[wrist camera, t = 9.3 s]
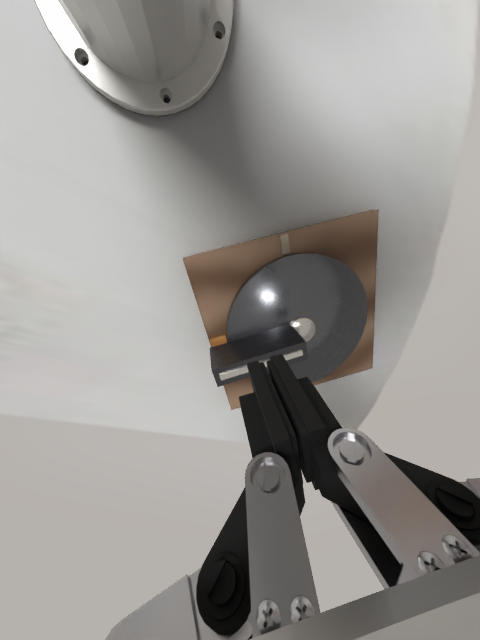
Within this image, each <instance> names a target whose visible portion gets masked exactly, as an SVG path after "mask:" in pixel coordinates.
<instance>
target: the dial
mask: <svg viewBox="0 0 480 640" xmlns="http://www.w3.org/2000/svg"><path fill="white" fill-rule="evenodd" d="M367 312H368V305H367V297H366V293H365V290H364V287H363V285H362V283H361V281H360V279H359V278H358V276H357V275H356V274H355V273H354V271H353V270H352V269H350V268H349V267H348V266H347V265H346V264H344V263H342V262H341V261H339V260H337V259H334V258H332V257H329V256H325V255H321V254H317V253H308V252H303V253H293V254H288V255H284V256H282V257H279V258H276V259H274V260H272V261H270V262H268V263H266V264H265V265H263V266H262V267H260V268H259V269H257V270H256V271H255V272H254V273H253V274H251V275H250V276H249V277H248V278H247V280H246V281H245V282H244V283H243V284H242V286H241V287H240V288H239V290H238V291H237V293H236V295H235V297H234V299H233V301H232V303H231V306H230V309H229V313H228V317H227V328H226V329H227V338H228V342H227V343H224V344H221V345H217V346H214V347H211V348H210V356H211V368H212V372H213V375H214V378H215V380H216V383H217V386H218V387H219V386H222V385H225V384H229V383H232V382H235V381H238V380H242V379H245V378H248V377H250V376H249V372H248V368H247V363H250V362H253V361H257V360H258V361H259V363H261V362H264V365H265V367H266V369H267V371H268V367H267V361H268V360H270V357H271V356H274V355H278V354H282V355H283V356H284V358H285V360H286V361H287V363H288V365H289V366H290V368H291V370H292V371H293V373H294V375H295V376H296V378H297V379H300V378H303V377H308V378H309V379H310V381H311V382H315V381H317V380H319V379H321V378H323V377H325V376H327V375H328V374H330V373H331V372H333V371H334V370H335V369H337V368H338V367H339V366H340V365H341V364H342V363H343V362H344V361H345V360H346V359H347V358H348V357H349V356H350V355H351V353H352V352H353V351H354V349H355V348H356V346H357V344H358V343H359V341H360V339H361V336H362V334H363V332H364V328H365V325H366V320H367ZM268 374H269V372H268Z"/></svg>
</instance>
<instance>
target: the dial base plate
mask: <svg viewBox="0 0 480 640" xmlns="http://www.w3.org/2000/svg"><path fill="white" fill-rule="evenodd" d="M377 233H378V210H370V211H366V212H362V213H358V214H354V215H350V216H346V217H342V218H338V219H334V220H330V221H326V222H322V223H318V224H314V225H310V226H306V227H303V228H299V229H295V230H291V231H287V232H283V233H279V234H275V235H271V236H267V237H263V238H259V239H255V240H251V241H247V242H243V243H239V244H235V245H231V246H227V247H223V248H220V249H216V250H212V251H208V252H204V253H200V254H196V255H192V256H188V257H184V258H183V261H184V264H185V267H186V270H187V273H188V276H189V280H190V283H191V286H192V289H193V292H194V295H195V298H196V301H197V304H198V307H199V311H200V314H201V317H202V320H203V323H204V326H205V329H206V332H207V335H208V338H209V342H210V345H211V347H214V346H217V345H221V344H224V343H227V342H228V338H227V329H226V328H227V317H228V313H229V309H230V306H231V303H232V301H233V299H234V297H235V295H236V293H237V291H238V290H239V288H240V287H241V286H242V284H243V283H244V282H245V281H246V280H247V278H248V277H249V276H250V275H251V274H253V273H254V272H255V271H256V270H257V269H259V268H260V267H262V266H263V265H265V264H266V263H268V262H270V261H272V260H274V259H276V258H279V257H282V256H284V255H288V254H293V253H303V252H308V253H317V254H321V255H325V256H329V257H332V258H334V259H337V260H339V261H341V262H342V263H344V264H346V265H347V266H348V267H349V268H350V269H352V270H353V271H354V273H355V274H356V275H357V276H358V278H359V279H360V281H361V283H362V285H363V287H364V290H365V293H366V297H367V305H368V312H367V320H366V325H365V328H364V332H363V334H362V336H361V339H360V341H359V343H358V344H357V346H356V348H355V349H354V351H353V352H352V353H351V355H350V356H349V357H348V358H347V359H346V360H345V361H344V362H343V363H342V364H341V365H340V366H339V367H338V368H337V369H335V370H334V371H333V372H331V373H330V374H328V375H327V376H325V377H323V378H321V379H319V380H317V381H315V382H312V384H313V385H317V384H320V383H323V382H327V381H330V380H333V379H337V378H340V377H344V376H347V375H350V374H354V373H357V372H360V371H364V370H367V369H370V368H372V365H373V338H374V312H375V286H376V260H377ZM224 388H225V391H226V394H227V397H228V400H229V403H230V407H231V410H233V409H236V408H239V407H241V406H240V401H239V396H242V395H246V394H249V393H253V388H252V384H251V380H250V377H248V378H245V379H242V380H238V381H235V382H232V383H229V384H225V385H224Z"/></svg>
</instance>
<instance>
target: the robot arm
mask: <svg viewBox="0 0 480 640" xmlns="http://www.w3.org/2000/svg"><path fill="white" fill-rule="evenodd" d="M34 1H35V3H36V6H37V8H38V10H39V12H40V14H41V16H42V18H43V20H44V22H45V24H46V27H47V29H48V30H49V32H50V33H51V35H52V37H53V38H54V40H55V41H56V43H57V44H58V46H59V48H60V49H61V51H62V52H63V54H64V55H65V56H66V57H67V59H68V60H69V61H70V62H71V64H72V65H73V66H74V68H75V69H76V70H77V71H78V72H79V73H80V74H81V75H82V76H83V77H84V78H85V79H86V81H87V82H88V83H89V84H90V85H91V86H92V87H93V88H95V89H96V90H97V91H99V92H100V93H101V94H102V95H104V96H105V97H106V98H108V99H109V100H110V101H112V102H114V103H116V104H118V105H120V106H122V107H123V108H125V109H128V110H131V111H134V112H137V113H140V114H145V115H156V116H161V115H168V114H175V113H177V112H179V111H182V110H184V109H187V108H189V107H190V106H191V105H193V104H194V103H195V102H197V101H198V100H200V99H201V98H202V97H203V96H204V94H205V93H206V92H207V91H208V90H209V88H210V87H211V86H212V85H213V83H214V81H215V79H216V77H217V76H218V74H219V72H220V70H221V68H222V65H223V62H224V59H225V56H226V53H227V50H228V45H229V40H230V35H231V27H232V18H233V8H234V6H233V0H34ZM217 35H219V36H220V37H221V39H217V38H216V37H215V36H217ZM85 61H89V62H88V64H87V65H86V66H84V62H85ZM166 97H168V98H169V99H170V102H169V103H165V102H164V99H165V98H166ZM267 367H268V371H267V369H266V367H265V365H264V362H261V363H259V361H258V360H257V361H253V362H250V363H247V368H248V372H249V376H250V380H251V384H252V388H253V393H249V394H246V395H242V396H239V401H240V406H241V410H242V414H243V418H244V423H245V427H246V431H247V436H248V440H249V444H250V448H251V453H252V457H253V459H252V460H251V461H250V463H249V464H248V466H247V469H246V473H245V488H244V490H243V492H242V494H241V496H240V498H239V500H238V501H237V503H236V505H235V507H234V509H233V510H232V512H231V514H230V516H229V518H228V519H227V521H226V523H225V525H224V527H223V529H222V530H221V532H220V534H219V536H218V538H217V539H216V541H215V543H214V545H213V547H212V548H211V550H210V552H209V554H208V556H207V558H206V560H205V561H204V563H203V565H202V568H200V569H199V570H197V571H196V572H195V573H193V574H192V575H190V576H188V575H185V576H184V577H183V578H181V579H180V580H178V581H177V582H176V583H174V584H173V585H171V586H170V587H168V588H167V589H165V590H164V591H162V592H161V593H160V594H158V595H157V596H155V597H154V598H152V599H151V600H150V601H148V602H147V603H145V604H144V605H142V606H141V607H140V608H138V609H137V610H135V611H134V612H132V613H131V614H129V615H128V616H127V617H126V618H124V619H122V620H121V621H120V622H119V623H118V624H117V625H116V626H115V627H114V628H113V629H112V630H111V632H110V633H109V635H108V636H107V638H106V639H105V640H480V478H475V479H467V480H466V482H457V481H455V480H453V479H451V478H448V477H446V476H443V475H441V474H438V473H435V472H433V471H430V470H428V469H425V468H422V467H420V466H417V465H415V464H412V463H410V462H407V461H405V460H402V459H399V458H397V457H394V456H392V455H389V454H387V453H384V452H383V451H381V449H379V447H378V446H377V445H376V444H375V443H374V442H373V441H372V440H371V439H370V438H368V436H366V435H365V434H364V433H362V432H360V431H358V430H356V429H352V428H342V427H341V426H340V424H339V423H338V421H337V420H336V418H335V417H334V415H333V414H332V412H331V411H330V409H329V408H328V406H327V405H326V403H325V402H324V400H323V399H322V397H321V396H320V394H319V393H318V391H317V390H316V388H315V387H314V385H313V384H312V382H311V381H310V379H309V378H308V377H303V378H300V379H297V378H296V376H295V375H294V373H293V371H292V370H291V368H290V366H289V365H288V363H287V361H286V360H285V358H284V356H283V355H282V354H278V355H274V356H271V357H270V360H268V361H267ZM268 372H269V374H268ZM301 470H302V472H303V475H304V477H305V480H306V482H307V483H308V482H311V481H312V484H313V486H314V488H315V490H317V489H319V490H320V492H321V495H322V496H323V497H325V498H326V499H328V500H330V501H332V503H333V505H334V507H335V509H336V511H337V512H338V514H339V515H340V517H341V519H342V520H343V522H344V524H345V525H346V527H347V529H348V530H349V532H350V534H351V535H352V537H353V538H354V540H355V542H356V543H357V545H358V546H359V548H360V550H361V551H362V553H363V555H364V556H365V558H366V560H367V561H368V563H369V564H370V566H371V568H372V569H373V571H374V572H375V574H376V576H377V578H378V579H379V581H380V582H381V584H382V586H383V587H384V589H385V590H382V591H379V592H377V593H374V594H371V595H369V596H366V597H363V598H360V599H358V600H355V601H352V602H349V603H347V604H344V605H341V606H338V607H336V608H333V609H330V610H328V611H325V612H322V613H320V609H319V604H318V599H317V595H316V590H315V586H314V581H313V576H312V571H311V567H310V562H309V558H308V552H307V548H306V543H305V538H304V534H303V529H302V525H301V520H300V515H301V512H302V509H303V507H304V503H305V498H304V491H303V485H302V484H303V480H302V473H301Z"/></svg>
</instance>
